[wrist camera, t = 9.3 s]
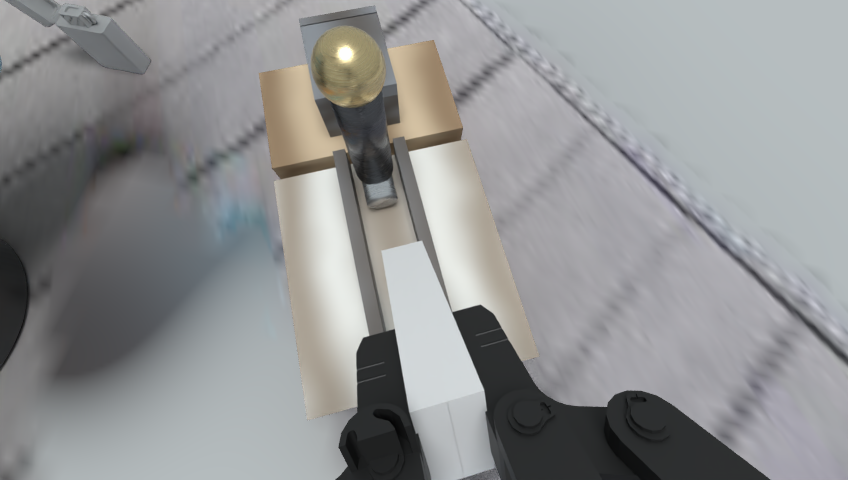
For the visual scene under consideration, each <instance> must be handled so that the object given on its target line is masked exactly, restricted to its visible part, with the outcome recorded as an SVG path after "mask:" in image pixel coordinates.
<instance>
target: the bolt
mask: <svg viewBox="0 0 848 480" xmlns="http://www.w3.org/2000/svg"><path fill="white" fill-rule="evenodd" d="M311 72H312V76H313V79H314V81H315V84H316V86H317V87H318V89H319V90H320V92H321V93H322V94H323V95H324V96H325V97H326V98H327V99H328V100H329V101H330V104H331V107H332V109H333V112H334V115H335V117H336V120H337V123H338V126H339V128H340V131H341V134H342V136H343V139H344V142H345V145H346V147H347V150H348V153H349V155H350V158H351V161H352V164H353V166H354V169H355V172H356V174H357V177H358V178H359V179H360V180H361V181H362V184H363V189H364V193H365V198H366V202H367V206H368V207H370V208H384V207H387V206H390V205H392V204H394V203H395V202H396V201H397V199H398V197H397V193H396V189H395V186H394V182H393V178H392V173H393V161H392V154H391V148H390V141H389V134H388V127H387V121H386V114H385V107H384V100H383V93H382V88H383V85H384V82H385V77H386V64H385V59H384V56H383V53H382V51H381V49H380V47H379V45H378V44H377V43H376V41H375V40H374V39H373V38H372V37H371V36H370V35H369V34H367V33H366V32H365V31H363V30H361V29H359V28H356V27H353V26H337V27H334V28H331V29H329V30H327V31H326V32H324V33H323V34H322V35H321V36H320V37H319V39H318V40H317V41H316V43H315V45H314V47H313V50H312V54H311Z"/></svg>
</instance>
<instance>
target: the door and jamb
mask: <svg viewBox="0 0 848 480" xmlns="http://www.w3.org/2000/svg"><path fill="white" fill-rule="evenodd" d="M299 22H300V27H301V32H302V38H303V43H304V48H305V53H306V59H307V64H305V65H299V66H294V67H289V68H284V69H278V70H273V71H268V72H263V73H259V78H260V85H261V92H262V99H263V106H264V114H265V121H266V128H267V135H268V142H269V149H270V157H271V164H272V169H273V170H274V171H275V172H276V174H277V175H278V176H279V177H280V180H276V181H274V185H275V193H276V200H277V207H278V214H279V221H280V228H281V236H282V243H283V250H284V257H285V264H286V272H287V279H288V286H289V293H290V300H291V307H292V315H293V322H294V329H295V336H296V343H297V351H298V358H299V365H300V372H301V379H302V386H303V393H304V401H305V408H306V415H307V420H311V419H314V418H318V417H322V416H325V415H329V414H333V413H336V412H340V411H343V410H347V409H351V408H354V407H357V369H356V352H357V350H358V348H359V345H360V343H361V341H362V339H363V337H367V336H371V335H374V334H378V333H382V332H385V331H389V330H393V329H395V327H394V321H393V315H392V310H391V304H390V298H389V292H388V287H387V281H386V275H385V269H384V263H383V258H382V252H381V251H382V250H386V249H390V248H394V247H398V246H402V245H406V244H410V243H414V242H418V241H422V242H423V245H424V247H425V249H426V252H427V254H428V257H429V259H430V261H431V264H432V266H433V269H434V271H435V273H436V276H437V278H438V281H439V283H440V285H441V288H442V290H443V293H444V295H445V297H446V300H447V302H448V305H449V307H450V309H451V312H455V311H458V310H462V309H466V308H469V307H473V306H477V305H480V304H481V305H482V306H483V307H485V308H486V309H488V310H489V311H491V312H492V313H493V314H494V315H495V317H496V318H497V320H498V322H499V324H500V325H501V328H502V329H503V330H504V332H505V334H506V336H507V337H508V340H509V341H510V342H511V344H512V346H513V348H514V349H515V351H516V353H517V354H518V356H519V358H520V360H521V361H524V360H528V359H532V358H535V357H539V354H538V351H537V348H536V345H535V342H534V339H533V336H532V333H531V330H530V327H529V324H528V321H527V318H526V315H525V312H524V309H523V306H522V303H521V300H520V297H519V294H518V291H517V288H516V285H515V282H514V279H513V276H512V273H511V270H510V267H509V264H508V261H507V258H506V255H505V252H504V249H503V246H502V243H501V240H500V237H499V234H498V231H497V228H496V225H495V222H494V219H493V216H492V213H491V210H490V207H489V204H488V201H487V198H486V195H485V192H484V189H483V186H482V183H481V180H480V177H479V174H478V171H477V168H476V165H475V162H474V159H473V156H472V153H471V150H470V147H469V144H468V141H467V139H465V140H461V135H462V130H463V126H462V123H461V120H460V117H459V114H458V111H457V108H456V105H455V102H454V99H453V96H452V93H451V90H450V87H449V84H448V81H447V78H446V75H445V72H444V69H443V66H442V63H441V60H440V57H439V54H438V51H437V48H436V45H435V42H434V40H431V41H426V42H421V43H415V44H410V45H405V46H399V47H394V48H389V49H387V47H386V43H385V40H384V36H383V33H382V29H381V26H380V22H379V18H378V15H377V11H376V8H375V6H369V7H363V8H358V9H352V10H347V11H341V12H335V13H330V14H324V15H319V16H313V17H307V18H302V19H299ZM337 26H353V27H356V28H359V29H361V30H363V31H365V32H366V33H367V34H369V35H370V36H371V37H372V38H373V39H374V40H375V41H376V43H377V44H378V45H379V47H380V49H381V51H382V53H383V56H384V59H385V64H386V77H385V82H384V85H383V88H382V93H383V100H384V107H385V114H386V121H387V127H388V134H389V141H390V148H391V154H392V161H393V173H392V178H393V182H394V186H395V189H396V193H397V197H398V199H397V201H396V202H395V203H394V204H392V205H390V206H387V207H384V208H370V207H368V206H367V202H366V198H365V193H364V189H363V184H362V181H361V180H360V179H359V178H358V177H357V174H356V172H355V169H354V166H353V164H352V161H351V158H350V155H349V153H348V150H347V147H346V145H345V142H344V139H343V136H342V134H341V131H340V128H339V126H338V123H337V120H336V117H335V115H334V112H333V109H332V107H331V104H330V101H329V100H328V99H327V98H326V97H325V96H324V95H323V94H322V93H321V92H320V90H319V89H318V87H317V86H316V84H315V81H314V79H313V76H312V72H311V54H312V50H313V47H314V45H315V43H316V41H317V40H318V39H319V37H320V36H321V35H322V34H323V33H324V32H326V31H327V30H329V29H331V28H334V27H337Z"/></svg>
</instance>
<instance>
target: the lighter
mask: <svg viewBox="0 0 848 480" xmlns="http://www.w3.org/2000/svg"><path fill="white" fill-rule="evenodd" d="M5 1H7V2H8V3H10V4H11V5H13V6H14V7H16V8H17V9H19V10H20V11H22V12H23V13H25V14H27V15H28V16H30V17H31V18H33V19H34V20H36V21H37V22H39V23H40V24H42V25H43V26H45V27H50V26H52V25H54V24H55V23H56V25H57V26H58V27H59V28H60V29H61V30H62V31H63V32H64V33H66V34H67V35H68V36H69V37H70V38H71V39H72V40H74V41H75V42H76V43H77V44H78V45H79V46H80V47H81V48H83V49H84V50H85V51H86V52H87V53H88V54H89V55H90V56H92V57H93V58H94V59H95V60H96V61H97V62H98V63H100V64H101V65H102V66H103V67H107V68H112V69H117V70H123V71H128V72H133V73H138V74H143V73H145V71H146V69H147V67H148V66H149V64H150V62H151V60H150V59H149V58H148V57H147V55H146V54H145V53H144V52H143V51H142V50H141V49H140V48H139V47H138V46H137V45H136V44H135V43H134V42H133V41H132V39H131V38H130V37H129V36H128V35H127V34H126V33H125V32H124V31H123V30H122V29H121V28H120V27H119V26H118V25H117V23H116V22H115V21H114V20H113V19H112V18H111V17H107V16H101V15H96V14H91V12H90V11H89V10H88V9H87V8H86V7H84V6H78V5H73V4H67V3H65V4H63V6H61V5H59V4H58V3H57V2H55V1H54V0H5Z"/></svg>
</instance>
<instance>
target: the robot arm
mask: <svg viewBox="0 0 848 480" xmlns="http://www.w3.org/2000/svg"><path fill="white" fill-rule="evenodd" d="M1 67H2V62H1V57H0V72H1ZM381 252H382V258H383V263H384V269H385V275H386V281H387V287H388V292H389V298H390V304H391V310H392V315H393V321H394V327H395V329H393V330H389V331H385V332H382V333H378V334H374V335H371V336H367V337H363V339H362V341H361V343H360V345H359V348H358V350H357V352H356V369H357V412H358V413H356V414H355V415H354V416H353V417H352V418H351V419H350V420H349V421H348V423H347V425H346V426H345V428H344V430H343V431H342V433H341V438H340V442H339V449H340V451H341V453H342V455H343V457H344V459H345V461H346V463H347V465H348V467H347V468H346V469H345V470H344V472H343V473H342V474H341V475H340V476H339V477H338V478H337V479H336V480H459V479H462V478H465V477H468V476H471V475H474V474H478V473H481V472H484V471H487V470H490V469H493V468H495V464H496V467H497V470H498V472H499V475H500V478H501V480H770V479H769V478H768V477H766V476H765V475H764V474H762V473H761V472H760V471H758V470H757V469H756V468H754V467H753V466H752V465H750V464H749V463H748V462H747V461H745V460H744V459H743V458H741V457H740V456H739V455H737V454H736V453H735V452H733V451H732V450H731V449H729V448H728V447H727V446H726V445H724V444H723V443H722V442H720V441H719V440H718V439H716V438H715V437H714V436H712V435H711V434H710V433H708V432H707V431H706V430H705V429H703V428H702V427H701V426H699V425H698V424H697V423H695V422H694V421H693V420H691V419H690V418H689V417H687V416H686V415H685V414H684V413H682V412H681V411H680V410H678V409H677V408H676V407H674V406H673V405H672V404H670V403H668V402H667V401H665V400H663V399H662V398H660V397H658V396H656V395H653V394H650V393H646V392H643V391H624V392H621V393H619V394H616V395H614V397H613V398H612V399H611V400H610V401H609V402H608V405H607V407H584V406H571V405H566V404H562V403H559V402H556V401H555V400H553V399H551V398H549V397H547V396H546V395H545V394H544V393H543V392H541V391H540V390H539V389H538V387H537V386H536V385H535V383H534V382H533V380H532V378H531V377H530V375H529V373H528V371H527V370H526V368H525V366H524V365H523V363H522V361H521V360H520V358H519V356H518V354H517V353H516V351H515V349H514V348H513V346H512V344H511V342H510V341H509V340H508V337H507V336H506V334H505V332H504V330H503V329H502V328H501V325H500V324H499V322H498V320H497V318H496V317H495V315H494V314H493V313H492V312H491V311H489V310H488V309H486V308H485V307H483V306H482V305H481V304H480V305H477V306H473V307H469V308H466V309H462V310H458V311H455V312H451V309H450V307H449V305H448V302H447V300H446V297H445V295H444V293H443V290H442V288H441V285H440V283H439V281H438V278H437V276H436V273H435V271H434V269H433V266H432V264H431V261H430V259H429V257H428V254H427V252H426V249H425V247H424V245H423V242H422V241H418V242H414V243H410V244H406V245H402V246H398V247H394V248H390V249H386V250H382V251H381ZM26 302H27V284H26V277H25V273H24V270H23V267H22V264H21V262H20V260H19V258H18V257H17V255H16V253H15V252H14V251H13V250H12V248H11V247H10V246H9V245H8V244H7V243H5V242H4V241H3V240H2V239H0V366H1V365H2V364H3V362H4V360H5V359H6V357H7V356H8V354H9V352H10V350H11V349H12V347H13V345H14V343H15V341H16V338H17V336H18V334H19V331H20V328H21V325H22V322H23V318H24V314H25V309H26ZM494 462H495V464H494Z"/></svg>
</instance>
